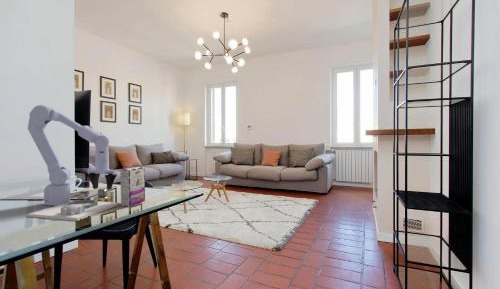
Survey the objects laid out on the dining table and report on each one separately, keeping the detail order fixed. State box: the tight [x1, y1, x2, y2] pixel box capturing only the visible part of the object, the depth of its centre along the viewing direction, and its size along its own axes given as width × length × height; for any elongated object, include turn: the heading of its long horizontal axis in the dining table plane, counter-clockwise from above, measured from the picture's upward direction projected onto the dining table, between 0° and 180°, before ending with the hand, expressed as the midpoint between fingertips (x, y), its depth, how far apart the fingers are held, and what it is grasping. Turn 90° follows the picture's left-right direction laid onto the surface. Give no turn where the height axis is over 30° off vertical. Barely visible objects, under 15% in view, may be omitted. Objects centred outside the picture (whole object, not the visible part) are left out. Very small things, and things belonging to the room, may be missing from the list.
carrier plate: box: [27, 199, 120, 222], centre depth 105 cm, size 22×22×4 cm
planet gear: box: [93, 188, 112, 202], centre depth 122 cm, size 7×7×5 cm
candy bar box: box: [119, 166, 146, 207], centre depth 116 cm, size 11×5×16 cm, turn 168°
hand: (102, 188), depth 122 cm, fingers open, 7 cm apart
